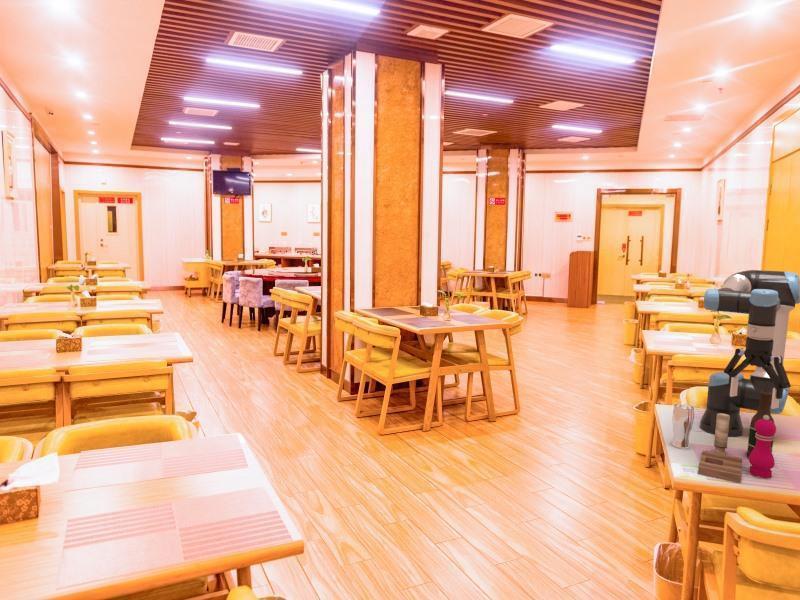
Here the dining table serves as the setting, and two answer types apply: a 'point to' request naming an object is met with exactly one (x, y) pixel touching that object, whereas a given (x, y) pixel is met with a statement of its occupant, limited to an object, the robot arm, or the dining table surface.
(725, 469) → the board
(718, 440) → the peg
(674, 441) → the beer glass
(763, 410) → the beer bottle
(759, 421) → the pepper mill
